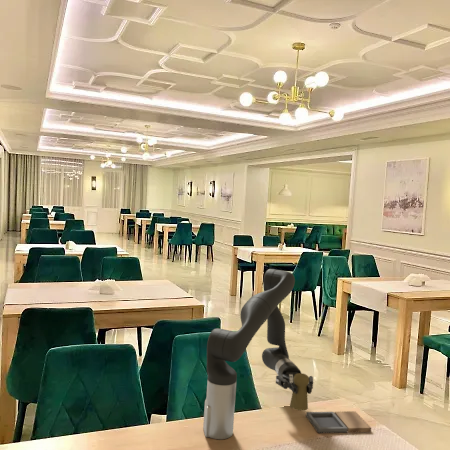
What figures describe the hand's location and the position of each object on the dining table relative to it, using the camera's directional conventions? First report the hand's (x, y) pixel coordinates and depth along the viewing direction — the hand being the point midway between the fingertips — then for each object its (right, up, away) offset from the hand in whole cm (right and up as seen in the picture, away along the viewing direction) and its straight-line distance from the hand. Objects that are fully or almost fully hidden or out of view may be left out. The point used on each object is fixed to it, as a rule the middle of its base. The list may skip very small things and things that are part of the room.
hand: (303, 390), depth 158 cm
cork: (-1, -7, +3) cm, 7 cm away
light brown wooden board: (+18, -14, +7) cm, 24 cm away
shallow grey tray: (+9, -13, +6) cm, 17 cm away
